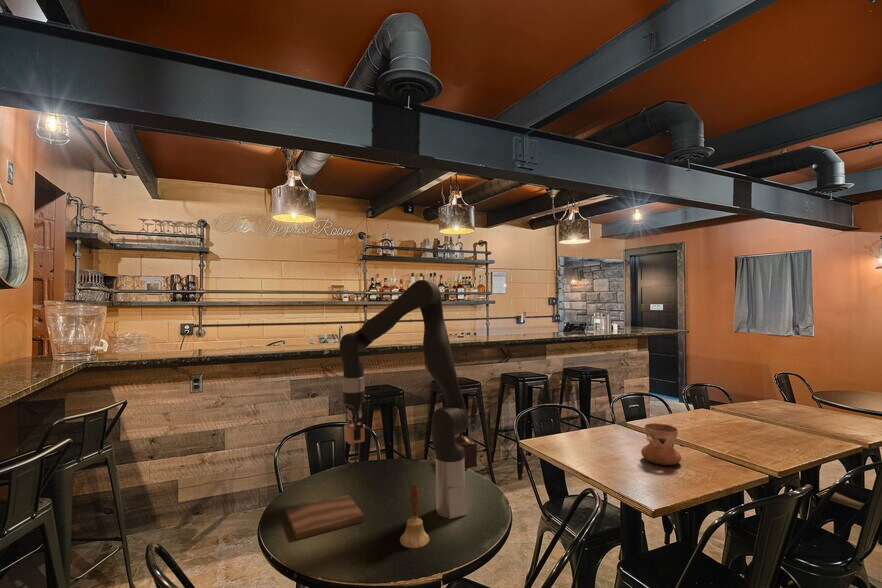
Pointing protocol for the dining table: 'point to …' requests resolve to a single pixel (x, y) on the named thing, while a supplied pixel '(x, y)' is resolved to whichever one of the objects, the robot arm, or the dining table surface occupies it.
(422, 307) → the robot arm
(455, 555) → the dining table surface
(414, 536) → the hand bell
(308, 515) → the walnut board
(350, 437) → the terracotta cube
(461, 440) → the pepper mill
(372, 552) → the dining table surface
